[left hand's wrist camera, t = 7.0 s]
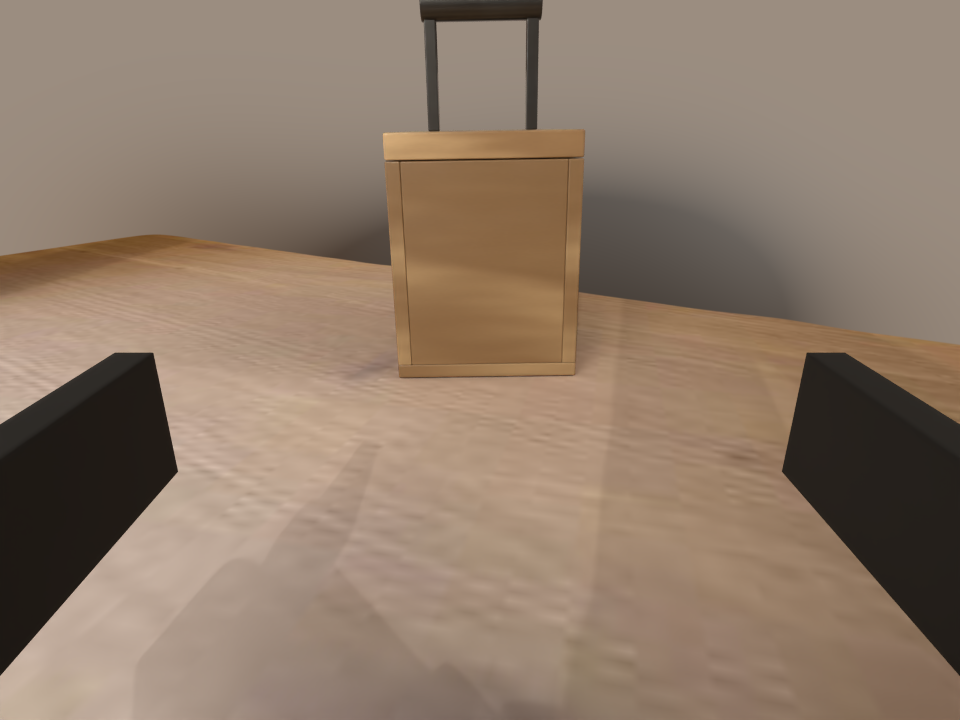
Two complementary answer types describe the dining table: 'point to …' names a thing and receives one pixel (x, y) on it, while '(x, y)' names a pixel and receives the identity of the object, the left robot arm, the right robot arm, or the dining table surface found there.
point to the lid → (469, 5)
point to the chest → (485, 265)
